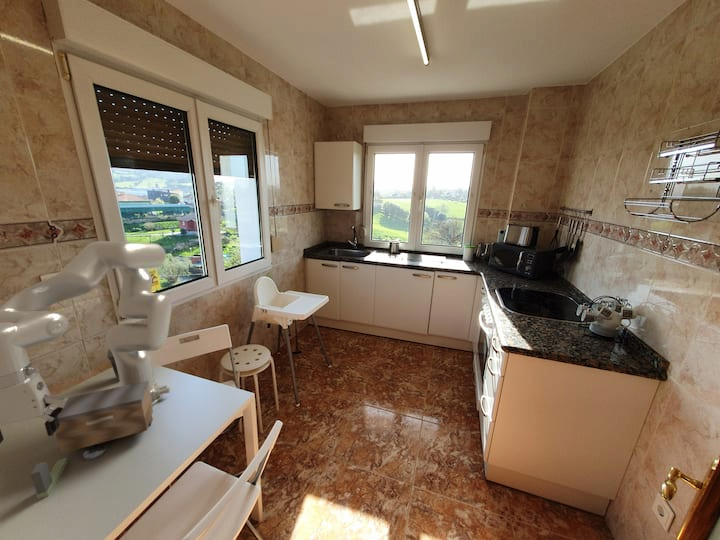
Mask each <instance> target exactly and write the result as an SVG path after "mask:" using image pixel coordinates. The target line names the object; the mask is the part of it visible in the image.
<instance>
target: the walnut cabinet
mask: <svg viewBox="0 0 720 540" xmlns="http://www.w3.org/2000/svg"><path fill="white" fill-rule="evenodd" d="M148 385H149V381H145V382H140V383H136V384H131V385H126V386H121V385H120V386H118V387H116V386H115V387H112V388H107V389H103V390H102V389H101V390H99V391H92V392H89V393H84V394H83V393H82V394H78V395H74V396H70V397H69V396H68V397H67V398H68V401H67V403H66V405H65V407H64V408H63V410H62V411H61V412H60V413H59V414H58V415H57V416H58V420H59V423H60V426H59V428H58V429H57V430H56V431H55V433H54V434H55V436H56V440H57V443H58V446H59V449H60V450H59V451H60V454H65V453H68V452H71V451H76V450H80V449H84V448H88V447H90V446H92V445H95V444H98V443H106V442H109V441H112V440H116V439H120V438H124V437H129V436H130V435H134V434H138V433H142V432H146V431H148V428H149V427H150V426H152V422H153V419H154V417H153V413H154V409H153V406H152V403H151V398H150V393H149V387H148Z"/></svg>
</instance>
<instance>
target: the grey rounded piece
mask: <svg viewBox="0 0 720 540" xmlns="http://www.w3.org/2000/svg"><path fill="white" fill-rule="evenodd" d="M107 450H108V448H107V443H106V442H102V443H98V444H95V445H91V446H88V447H87V448H86V449H85V450H84V452H83V453H82V456H83V460H84V461H85V462H91V461H92V462H93V461H95V460H97V459H99V458H101V457H102V456H103V455H104V454H105V453H106V452H107Z"/></svg>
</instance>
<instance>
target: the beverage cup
mask: <svg viewBox="0 0 720 540" xmlns="http://www.w3.org/2000/svg"><path fill="white" fill-rule="evenodd" d="M107 358H108V360H109V362H110V365H111V367H112V369H113V372H114V375H115V377H116V380H117V381H119V382H120V380H119V375H118V371H117V366H116V362H115V359H114V356H113V354H112V352H111V350H110V349H109V348H108V350H107Z"/></svg>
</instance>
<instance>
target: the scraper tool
mask: <svg viewBox="0 0 720 540" xmlns="http://www.w3.org/2000/svg"><path fill="white" fill-rule="evenodd" d="M68 464H69V458H68V457H64V458H60V459H58V460H56V462H55V464H54V465H53V467H52V469H51V471H50V469H49V466H48V462H47V461H42V462H39V463H37V464H36V465H35V467H34V469H33V470H32V472H31V473H30V476H31V480H32V483H33V486H34V489H35V490H36V497H37V500H41V499H43V498H48V497H50V495H51V493H52V491H53V490H54V488H55V486H56V484H57V482H58V481H59V479H60V477H61V475H62V474H63V472H64V470H65V469H66V467H67V465H68Z"/></svg>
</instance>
